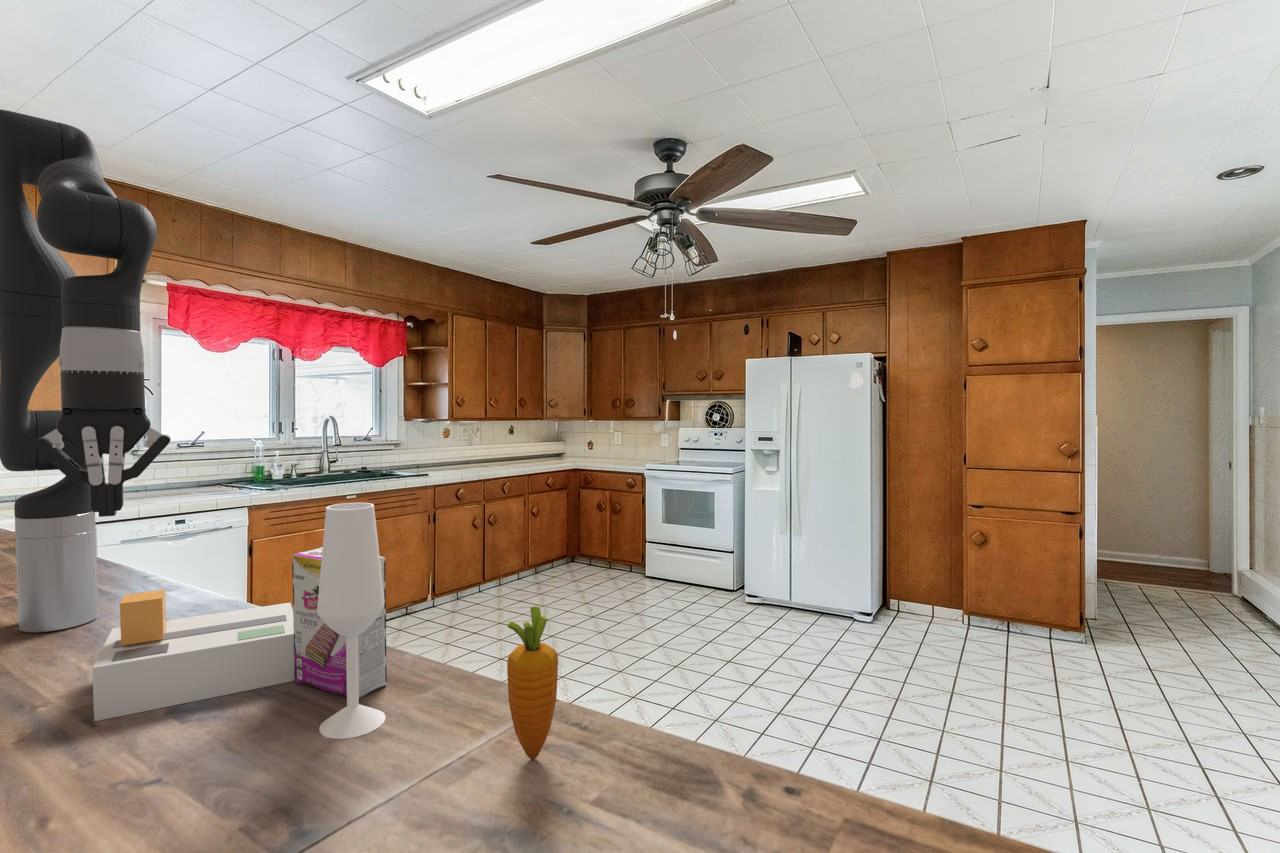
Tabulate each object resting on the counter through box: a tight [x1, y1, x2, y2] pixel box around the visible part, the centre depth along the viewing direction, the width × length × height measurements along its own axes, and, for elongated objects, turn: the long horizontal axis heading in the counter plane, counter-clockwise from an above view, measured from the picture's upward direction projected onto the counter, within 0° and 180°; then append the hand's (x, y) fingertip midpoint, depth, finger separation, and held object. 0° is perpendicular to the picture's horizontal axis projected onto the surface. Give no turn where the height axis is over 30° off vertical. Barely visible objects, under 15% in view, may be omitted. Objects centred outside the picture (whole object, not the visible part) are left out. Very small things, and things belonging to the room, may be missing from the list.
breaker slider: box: [119, 589, 167, 646], centre depth 78 cm, size 4×4×5 cm
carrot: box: [506, 605, 559, 761], centre depth 63 cm, size 5×5×15 cm
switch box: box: [92, 602, 295, 722], centre depth 81 cm, size 14×20×6 cm
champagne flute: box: [317, 502, 386, 740], centre depth 70 cm, size 7×7×24 cm
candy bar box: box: [291, 546, 388, 700], centre depth 79 cm, size 11×5×16 cm, turn 65°
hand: (107, 515), depth 76 cm, fingers closed
